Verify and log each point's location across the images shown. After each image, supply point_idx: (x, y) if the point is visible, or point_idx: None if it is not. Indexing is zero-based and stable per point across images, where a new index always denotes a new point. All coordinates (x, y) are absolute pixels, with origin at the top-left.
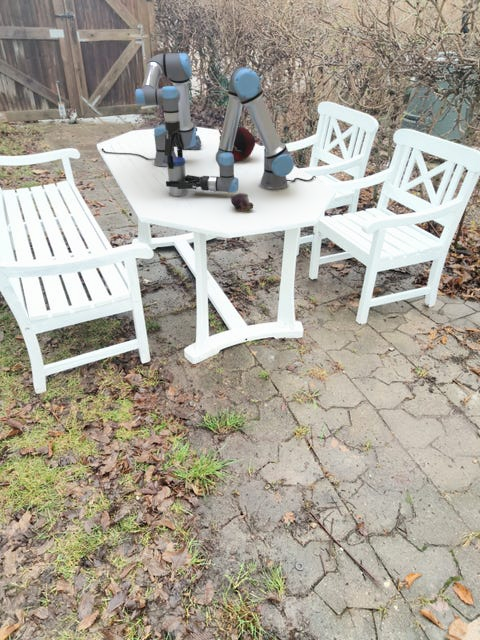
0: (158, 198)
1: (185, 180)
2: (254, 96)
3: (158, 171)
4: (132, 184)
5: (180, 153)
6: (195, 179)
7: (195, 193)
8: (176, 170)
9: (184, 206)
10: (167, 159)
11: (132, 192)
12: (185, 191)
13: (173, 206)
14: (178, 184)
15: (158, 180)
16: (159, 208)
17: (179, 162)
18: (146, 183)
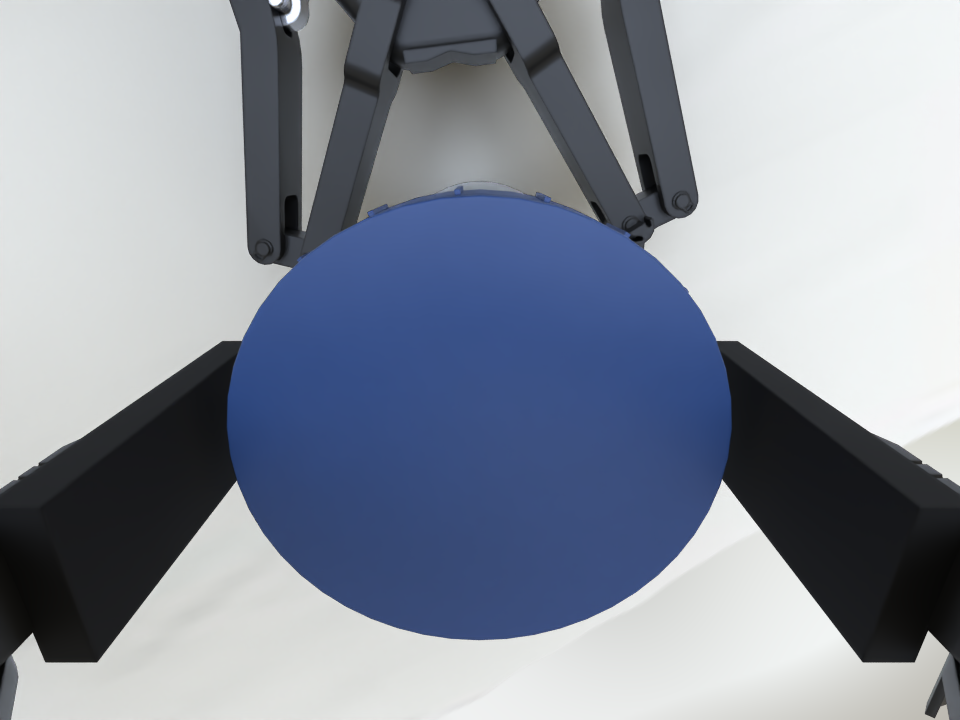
0: None
1: None
2: None
3: (20, 672)
4: (396, 696)
5: (138, 488)
6: (390, 28)
7: (417, 83)
8: None
9: (861, 19)
10: (540, 610)
11: None
12: (487, 183)
13: (866, 149)
14: (697, 193)
15: (221, 583)
16: (927, 263)
17: (656, 262)
18: (332, 628)
